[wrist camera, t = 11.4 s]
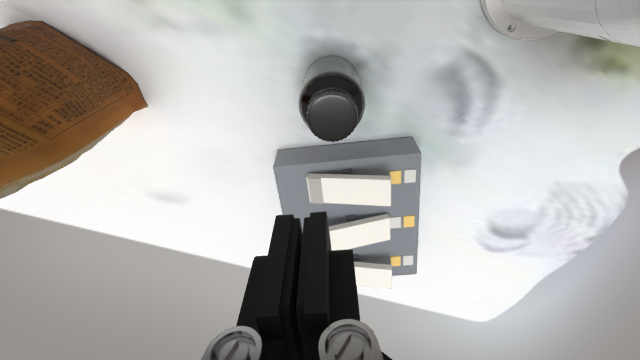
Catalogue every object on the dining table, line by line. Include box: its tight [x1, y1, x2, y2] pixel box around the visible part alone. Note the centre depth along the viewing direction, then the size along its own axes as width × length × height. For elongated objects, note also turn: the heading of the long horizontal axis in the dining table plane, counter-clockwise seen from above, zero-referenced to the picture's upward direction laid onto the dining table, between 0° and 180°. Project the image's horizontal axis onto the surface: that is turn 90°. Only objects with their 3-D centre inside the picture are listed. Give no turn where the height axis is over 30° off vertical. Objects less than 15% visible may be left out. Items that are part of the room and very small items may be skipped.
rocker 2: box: [329, 214, 390, 251], centre depth 44 cm, size 10×4×1 cm, turn 96°
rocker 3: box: [354, 262, 392, 289], centre depth 48 cm, size 10×4×1 cm, turn 97°
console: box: [273, 137, 421, 276], centre depth 48 cm, size 18×20×6 cm
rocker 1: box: [306, 173, 391, 206], centre depth 41 cm, size 10×4×1 cm, turn 96°
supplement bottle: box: [299, 56, 365, 142], centre depth 36 cm, size 7×7×12 cm
